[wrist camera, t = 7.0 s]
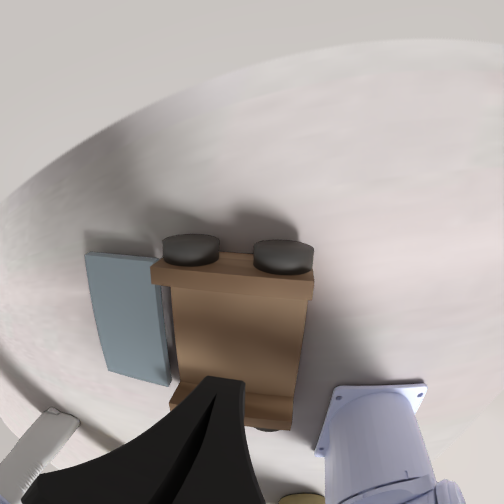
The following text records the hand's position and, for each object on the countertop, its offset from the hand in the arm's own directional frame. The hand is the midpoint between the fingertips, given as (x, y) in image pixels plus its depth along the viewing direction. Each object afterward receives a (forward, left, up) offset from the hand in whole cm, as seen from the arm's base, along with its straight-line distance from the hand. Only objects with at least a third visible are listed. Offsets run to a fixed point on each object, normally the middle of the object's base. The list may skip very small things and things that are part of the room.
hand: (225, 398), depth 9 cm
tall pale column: (-23, +26, -10) cm, 36 cm away
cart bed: (-3, +1, -9) cm, 10 cm away
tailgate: (-3, +6, -8) cm, 11 cm away
